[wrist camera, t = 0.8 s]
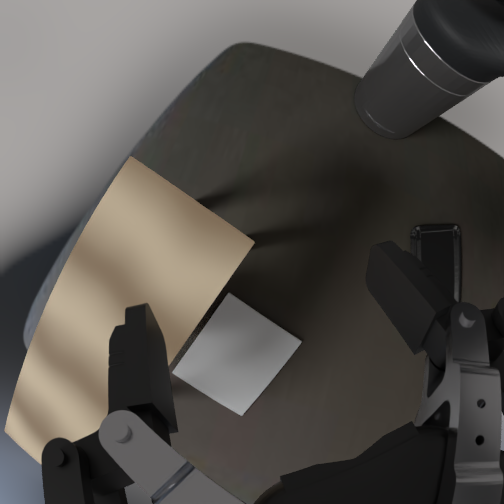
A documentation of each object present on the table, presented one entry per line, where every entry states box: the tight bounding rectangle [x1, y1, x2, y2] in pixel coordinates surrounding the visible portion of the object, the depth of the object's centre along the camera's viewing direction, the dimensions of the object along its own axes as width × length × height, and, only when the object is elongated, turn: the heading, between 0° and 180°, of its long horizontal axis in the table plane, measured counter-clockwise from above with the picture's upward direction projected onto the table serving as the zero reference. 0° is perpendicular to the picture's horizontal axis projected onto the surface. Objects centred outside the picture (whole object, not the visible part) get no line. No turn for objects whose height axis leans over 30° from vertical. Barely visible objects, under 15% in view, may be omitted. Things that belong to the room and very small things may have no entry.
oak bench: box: [5, 156, 255, 465], centre depth 25 cm, size 24×8×19 cm, turn 145°
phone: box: [410, 225, 461, 303], centre depth 34 cm, size 8×1×15 cm
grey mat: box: [172, 293, 302, 416], centre depth 34 cm, size 12×10×1 cm
